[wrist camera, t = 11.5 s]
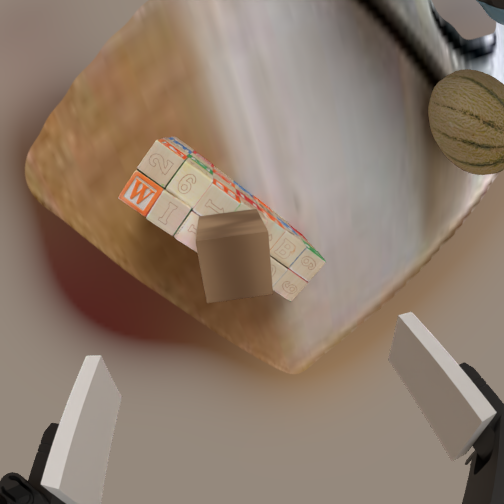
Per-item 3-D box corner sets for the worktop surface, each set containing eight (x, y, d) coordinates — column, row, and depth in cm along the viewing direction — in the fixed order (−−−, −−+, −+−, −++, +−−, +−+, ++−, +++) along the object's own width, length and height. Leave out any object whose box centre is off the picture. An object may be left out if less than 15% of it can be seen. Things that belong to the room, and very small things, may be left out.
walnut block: (256, 208, 27) (268, 231, 21) (261, 261, 29) (273, 294, 23) (199, 216, 26) (195, 241, 21) (207, 268, 28) (207, 303, 23)
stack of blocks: (304, 234, 42) (337, 275, 30) (275, 268, 43) (296, 319, 32) (174, 135, 35) (155, 138, 23) (144, 176, 36) (115, 198, 25)
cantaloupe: (414, 58, 33) (486, 45, 19) (477, 93, 35) (545, 97, 22) (401, 151, 38) (475, 170, 25) (466, 174, 41) (533, 198, 27)
